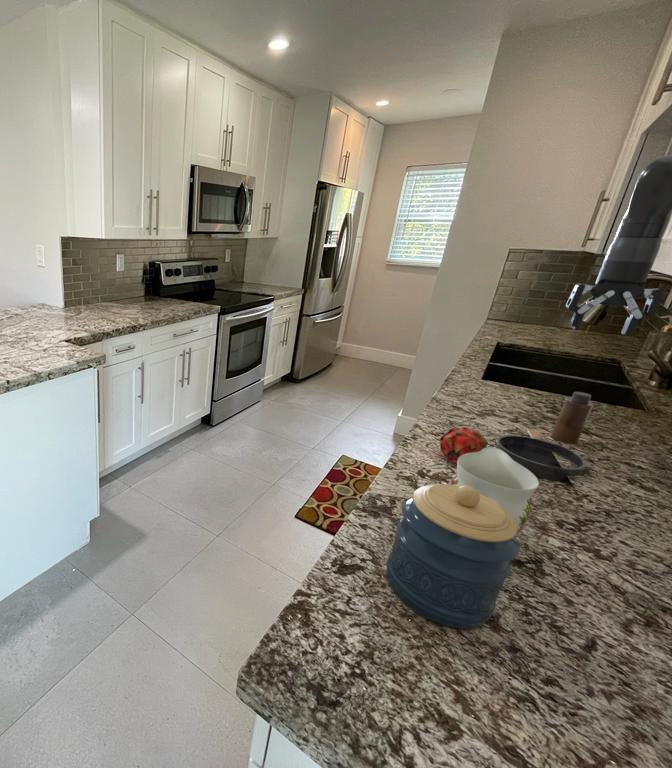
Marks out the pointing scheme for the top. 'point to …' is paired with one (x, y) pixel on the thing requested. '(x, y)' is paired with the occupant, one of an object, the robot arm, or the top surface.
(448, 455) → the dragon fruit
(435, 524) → the canister
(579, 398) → the pepper mill
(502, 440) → the pan
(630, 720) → the top surface
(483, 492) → the pitcher
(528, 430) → the trivet
